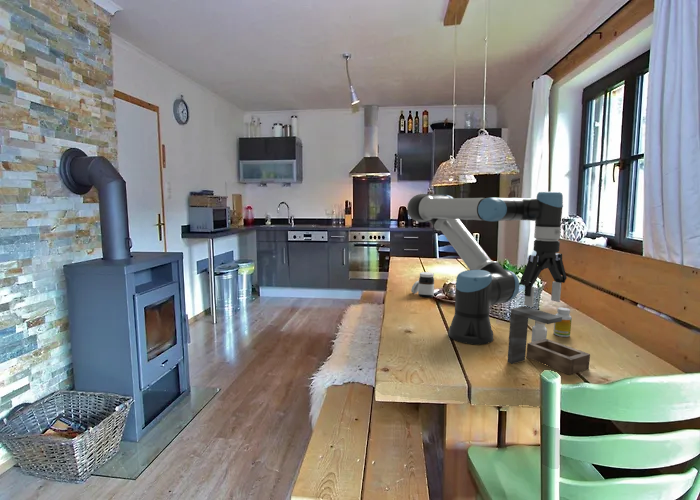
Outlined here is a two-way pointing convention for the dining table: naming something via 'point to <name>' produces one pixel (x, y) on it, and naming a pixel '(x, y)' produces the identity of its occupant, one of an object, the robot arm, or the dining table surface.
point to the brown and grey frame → (542, 344)
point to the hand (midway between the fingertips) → (542, 303)
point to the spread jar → (424, 285)
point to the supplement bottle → (563, 323)
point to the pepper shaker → (539, 331)
